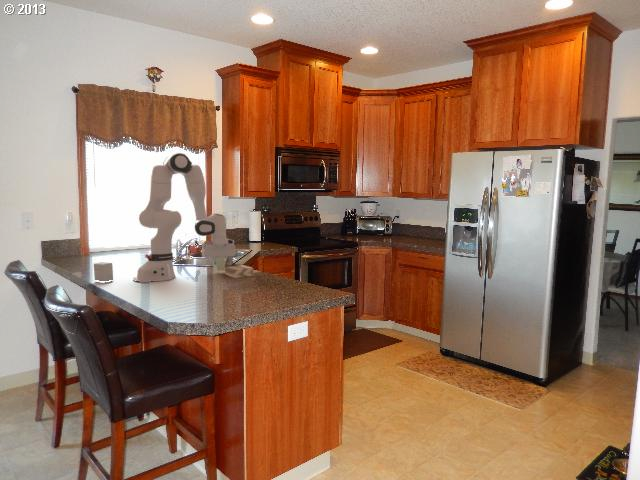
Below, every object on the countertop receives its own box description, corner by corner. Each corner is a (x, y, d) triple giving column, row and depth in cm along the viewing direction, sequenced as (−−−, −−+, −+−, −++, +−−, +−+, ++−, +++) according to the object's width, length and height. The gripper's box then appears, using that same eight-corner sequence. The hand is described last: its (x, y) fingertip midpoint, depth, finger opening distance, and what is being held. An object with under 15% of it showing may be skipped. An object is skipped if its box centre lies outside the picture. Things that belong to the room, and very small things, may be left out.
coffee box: (217, 265, 310) (216, 241, 308) (220, 263, 316) (219, 240, 315) (230, 265, 309) (230, 241, 308) (233, 264, 316) (233, 240, 314)
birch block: (234, 278, 266) (234, 269, 266) (225, 275, 276) (225, 267, 275) (253, 276, 273) (253, 267, 272) (244, 273, 283) (244, 265, 282)
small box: (113, 282, 255) (112, 262, 254) (105, 283, 250) (104, 264, 249) (103, 280, 258) (102, 261, 257) (94, 282, 253) (93, 263, 252)
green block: (217, 270, 276) (217, 257, 275) (213, 269, 280) (213, 256, 279) (225, 269, 279) (224, 256, 278) (221, 268, 283) (221, 255, 282)
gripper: (204, 242, 269) (204, 266, 270) (236, 240, 281) (237, 263, 283) (200, 241, 274) (200, 265, 275) (231, 239, 286) (232, 262, 288)
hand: (219, 264), depth 279 cm, fingers closed on green block, 5 cm apart
